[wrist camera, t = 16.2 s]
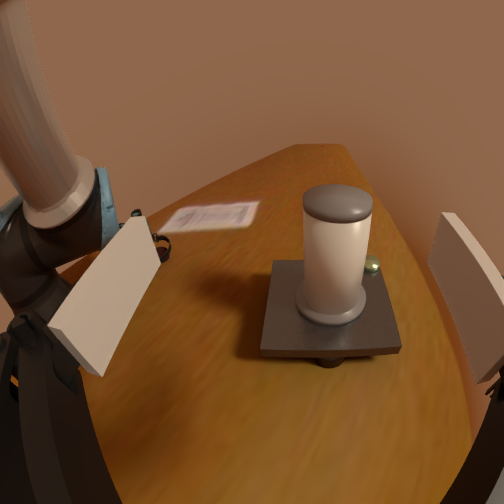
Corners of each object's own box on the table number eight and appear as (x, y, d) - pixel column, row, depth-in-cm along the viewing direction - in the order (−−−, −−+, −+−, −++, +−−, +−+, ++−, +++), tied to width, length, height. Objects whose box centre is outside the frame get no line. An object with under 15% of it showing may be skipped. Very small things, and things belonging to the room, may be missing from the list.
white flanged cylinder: (294, 326, 31) (291, 219, 23) (296, 275, 38) (293, 181, 30) (370, 325, 29) (393, 219, 21) (359, 275, 36) (370, 181, 28)
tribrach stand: (262, 367, 31) (259, 344, 28) (274, 280, 44) (272, 255, 41) (392, 364, 28) (404, 341, 25) (373, 279, 41) (377, 255, 38)
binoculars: (145, 236, 41) (104, 228, 43) (159, 285, 47) (120, 273, 50) (174, 209, 47) (133, 204, 50) (183, 256, 54) (145, 247, 56)
